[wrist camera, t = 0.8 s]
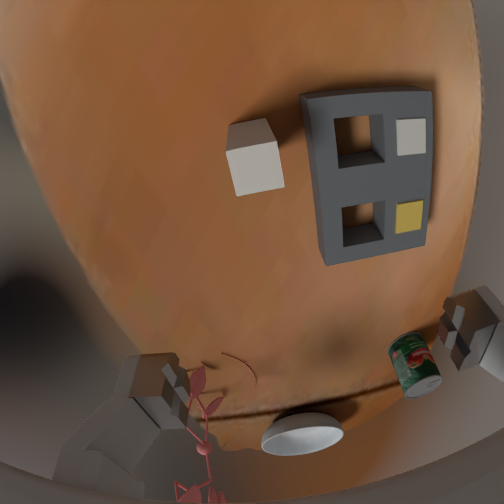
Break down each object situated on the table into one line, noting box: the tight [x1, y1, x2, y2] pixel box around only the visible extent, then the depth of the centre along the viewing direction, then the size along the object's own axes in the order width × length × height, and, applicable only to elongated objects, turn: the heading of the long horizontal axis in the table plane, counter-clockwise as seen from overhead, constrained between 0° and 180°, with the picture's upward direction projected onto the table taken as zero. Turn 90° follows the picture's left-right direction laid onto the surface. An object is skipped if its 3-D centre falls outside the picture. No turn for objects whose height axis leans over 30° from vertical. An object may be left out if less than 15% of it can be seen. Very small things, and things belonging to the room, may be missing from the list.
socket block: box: [299, 86, 433, 266], centre depth 33 cm, size 20×14×4 cm
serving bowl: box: [261, 412, 344, 455], centre depth 70 cm, size 21×21×7 cm
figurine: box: [175, 353, 256, 503], centre depth 44 cm, size 15×26×35 cm, turn 9°
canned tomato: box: [388, 332, 442, 399], centre depth 51 cm, size 8×8×11 cm
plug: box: [226, 118, 285, 196], centre depth 28 cm, size 4×4×10 cm
